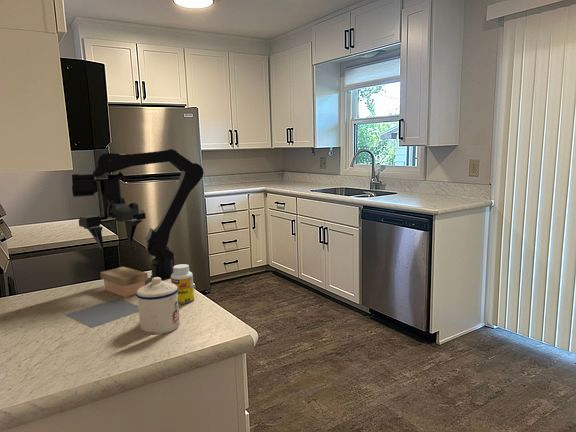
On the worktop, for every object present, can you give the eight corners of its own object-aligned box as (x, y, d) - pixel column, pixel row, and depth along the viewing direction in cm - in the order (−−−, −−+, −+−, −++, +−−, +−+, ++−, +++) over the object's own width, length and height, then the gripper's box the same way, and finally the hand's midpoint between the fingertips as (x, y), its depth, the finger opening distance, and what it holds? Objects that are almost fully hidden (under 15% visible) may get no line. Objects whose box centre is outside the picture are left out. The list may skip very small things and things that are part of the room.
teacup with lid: (183, 331, 93) (179, 280, 92) (140, 339, 90) (135, 286, 88) (177, 312, 104) (173, 267, 103) (138, 319, 101) (134, 272, 100)
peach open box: (125, 286, 128) (124, 273, 127) (145, 293, 121) (144, 279, 120) (105, 292, 123) (103, 279, 122) (125, 299, 116) (123, 285, 115)
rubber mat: (118, 301, 115) (117, 298, 115) (147, 311, 106) (146, 308, 106) (65, 317, 104) (64, 314, 104) (92, 331, 95) (92, 327, 95)
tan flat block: (123, 272, 128) (123, 266, 128) (147, 279, 120) (147, 273, 119) (100, 278, 122) (100, 272, 122) (124, 286, 114) (123, 279, 114)
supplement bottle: (169, 307, 108) (166, 269, 107) (177, 299, 114) (174, 263, 112) (190, 307, 108) (187, 268, 106) (197, 299, 113) (194, 263, 112)
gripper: (93, 199, 115) (99, 255, 117) (153, 193, 129) (157, 242, 131) (75, 198, 122) (81, 250, 124) (133, 191, 136) (138, 239, 138)
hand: (116, 245), depth 129 cm, fingers open, 9 cm apart
